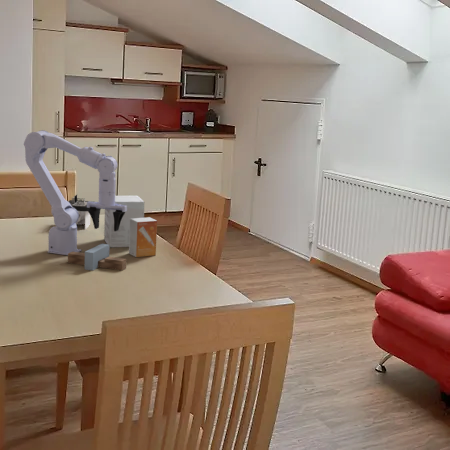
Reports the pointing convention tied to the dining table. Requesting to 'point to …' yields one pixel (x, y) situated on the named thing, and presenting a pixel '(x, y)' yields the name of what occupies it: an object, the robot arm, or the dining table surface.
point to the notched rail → (104, 263)
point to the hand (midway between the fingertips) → (106, 229)
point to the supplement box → (133, 211)
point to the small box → (142, 237)
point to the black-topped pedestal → (81, 210)
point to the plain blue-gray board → (95, 256)
